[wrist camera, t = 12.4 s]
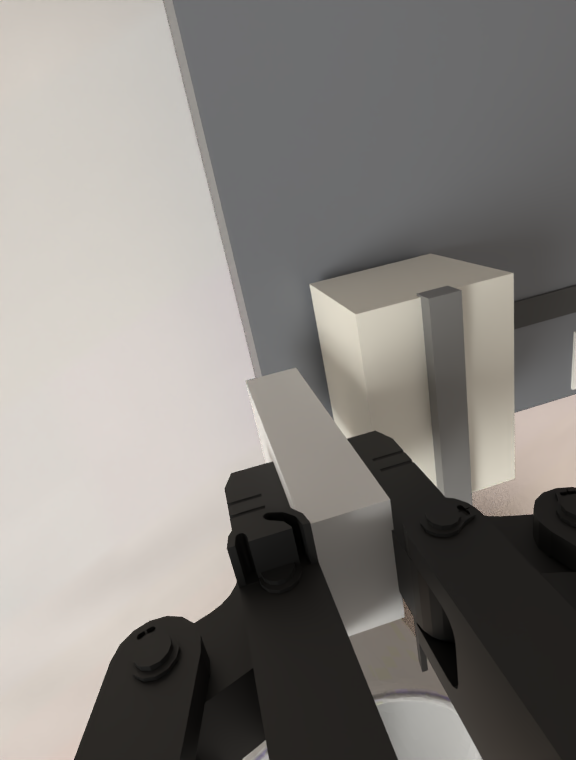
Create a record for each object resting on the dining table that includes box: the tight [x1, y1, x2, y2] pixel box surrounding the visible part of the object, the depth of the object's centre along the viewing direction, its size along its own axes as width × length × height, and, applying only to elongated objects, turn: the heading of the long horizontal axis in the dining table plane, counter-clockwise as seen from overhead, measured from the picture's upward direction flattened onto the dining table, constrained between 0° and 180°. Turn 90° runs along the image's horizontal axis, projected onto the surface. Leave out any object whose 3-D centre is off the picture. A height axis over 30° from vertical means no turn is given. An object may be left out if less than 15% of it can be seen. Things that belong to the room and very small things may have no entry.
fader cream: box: [309, 254, 515, 505], centre depth 14 cm, size 6×4×4 cm, turn 11°
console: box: [163, 0, 576, 420], centre depth 16 cm, size 22×24×3 cm
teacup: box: [242, 618, 482, 760], centre depth 22 cm, size 14×11×8 cm
